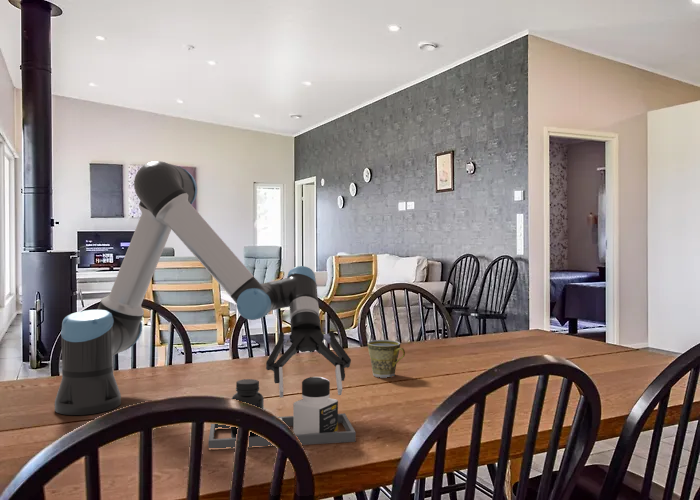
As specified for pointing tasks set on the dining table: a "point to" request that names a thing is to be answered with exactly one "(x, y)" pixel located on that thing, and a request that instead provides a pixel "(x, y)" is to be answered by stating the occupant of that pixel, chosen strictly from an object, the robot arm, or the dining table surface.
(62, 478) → the dining table surface
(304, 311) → the robot arm
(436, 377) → the dining table surface
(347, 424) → the tray
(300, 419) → the medicine bottle
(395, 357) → the ceramic cup
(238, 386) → the supplement bottle
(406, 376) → the dining table surface
